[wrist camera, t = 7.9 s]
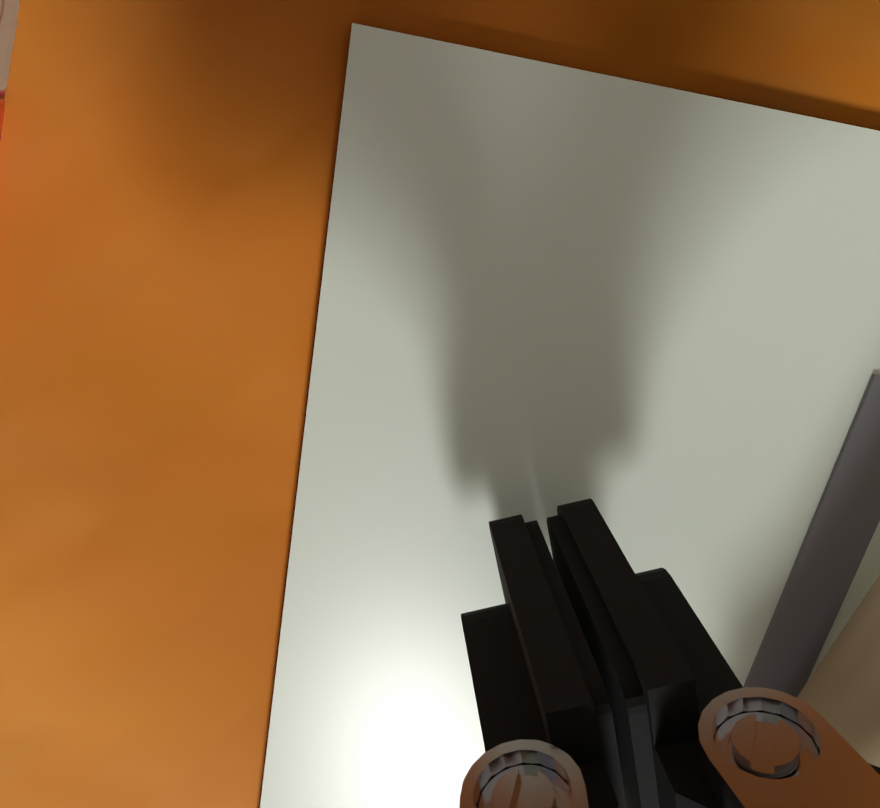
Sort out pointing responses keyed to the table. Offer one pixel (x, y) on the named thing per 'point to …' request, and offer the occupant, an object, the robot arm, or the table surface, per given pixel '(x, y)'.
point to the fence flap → (852, 680)
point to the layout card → (567, 388)
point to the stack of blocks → (6, 45)
